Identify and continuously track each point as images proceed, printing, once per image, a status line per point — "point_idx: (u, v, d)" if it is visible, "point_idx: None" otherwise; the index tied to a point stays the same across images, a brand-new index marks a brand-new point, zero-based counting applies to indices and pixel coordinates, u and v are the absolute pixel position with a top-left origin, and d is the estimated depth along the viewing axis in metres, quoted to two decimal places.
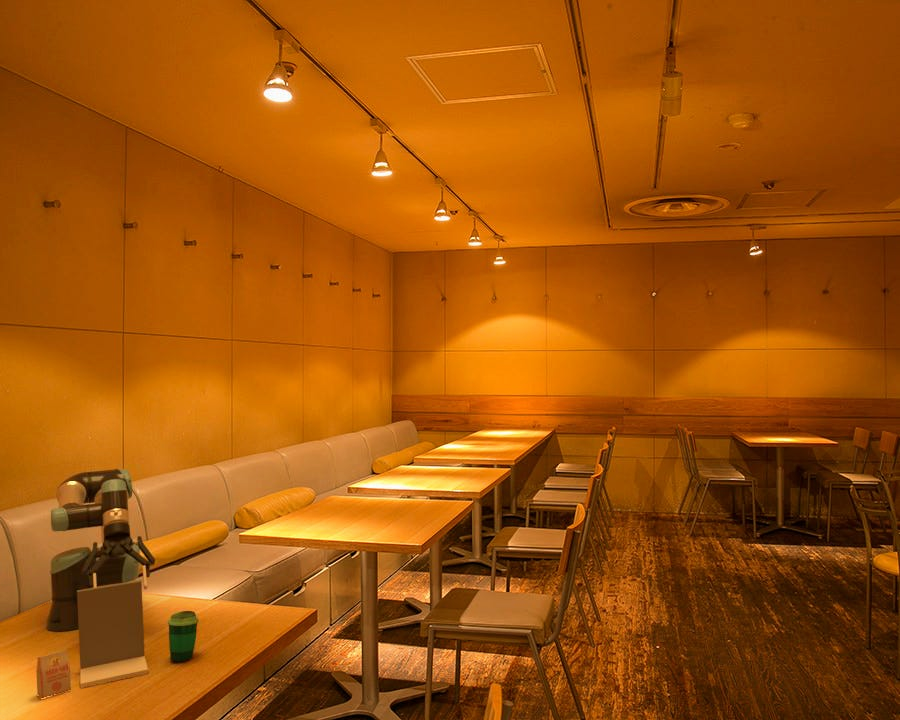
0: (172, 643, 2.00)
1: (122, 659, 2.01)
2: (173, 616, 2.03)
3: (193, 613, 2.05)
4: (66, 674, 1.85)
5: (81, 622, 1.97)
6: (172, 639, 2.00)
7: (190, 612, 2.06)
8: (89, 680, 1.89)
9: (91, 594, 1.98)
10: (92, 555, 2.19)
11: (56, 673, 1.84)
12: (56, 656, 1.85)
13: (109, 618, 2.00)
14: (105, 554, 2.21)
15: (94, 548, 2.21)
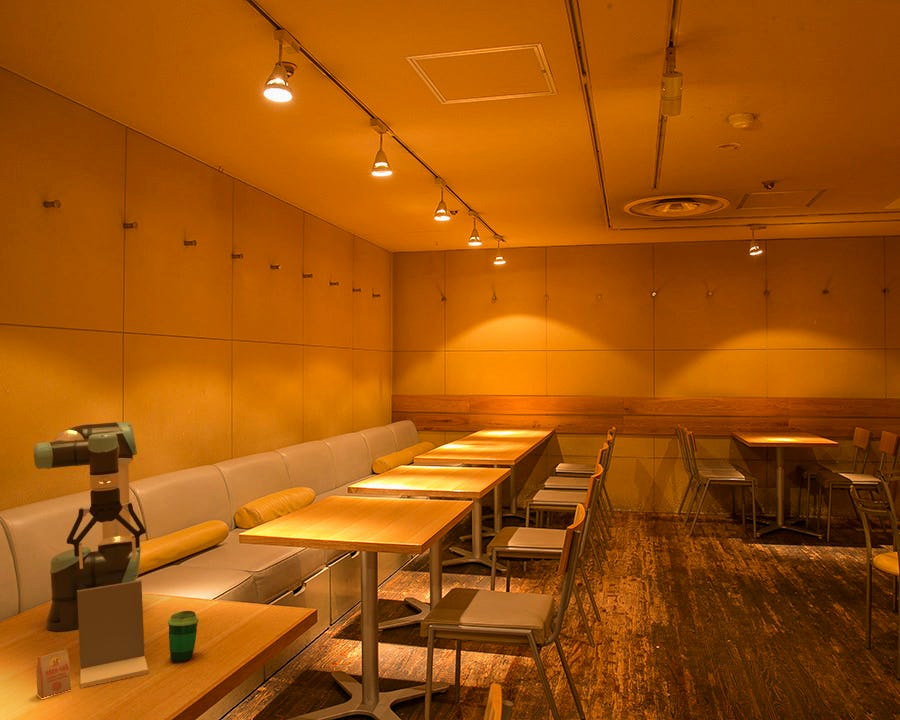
0: (172, 643, 2.00)
1: (122, 659, 2.01)
2: (173, 616, 2.03)
3: (193, 613, 2.05)
4: (66, 674, 1.85)
5: (81, 622, 1.97)
6: (172, 639, 2.00)
7: (190, 612, 2.06)
8: (89, 680, 1.89)
9: (91, 594, 1.98)
10: (78, 524, 2.01)
11: (56, 673, 1.84)
12: (56, 656, 1.85)
13: (109, 618, 2.00)
14: (92, 524, 2.03)
15: (80, 516, 2.02)
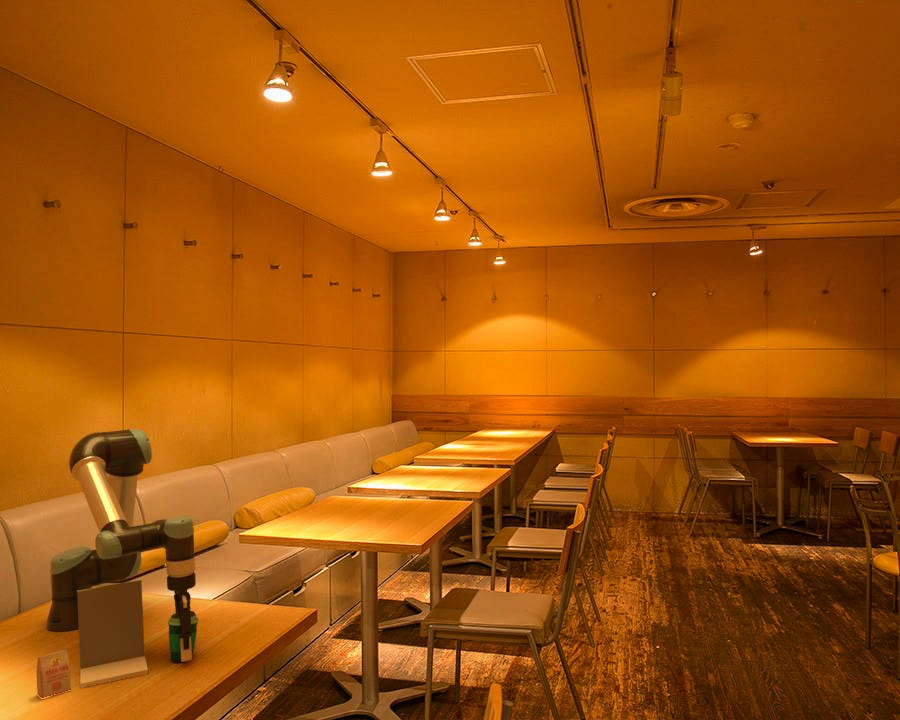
0: (172, 642, 2.00)
1: (122, 659, 2.01)
2: (173, 616, 2.03)
3: (193, 613, 2.05)
4: (66, 674, 1.85)
5: (81, 622, 1.97)
6: (172, 639, 2.00)
7: (190, 612, 2.06)
8: (89, 680, 1.89)
9: (91, 594, 1.98)
10: None
11: (56, 673, 1.84)
12: (56, 656, 1.85)
13: (109, 618, 2.00)
14: None
15: None
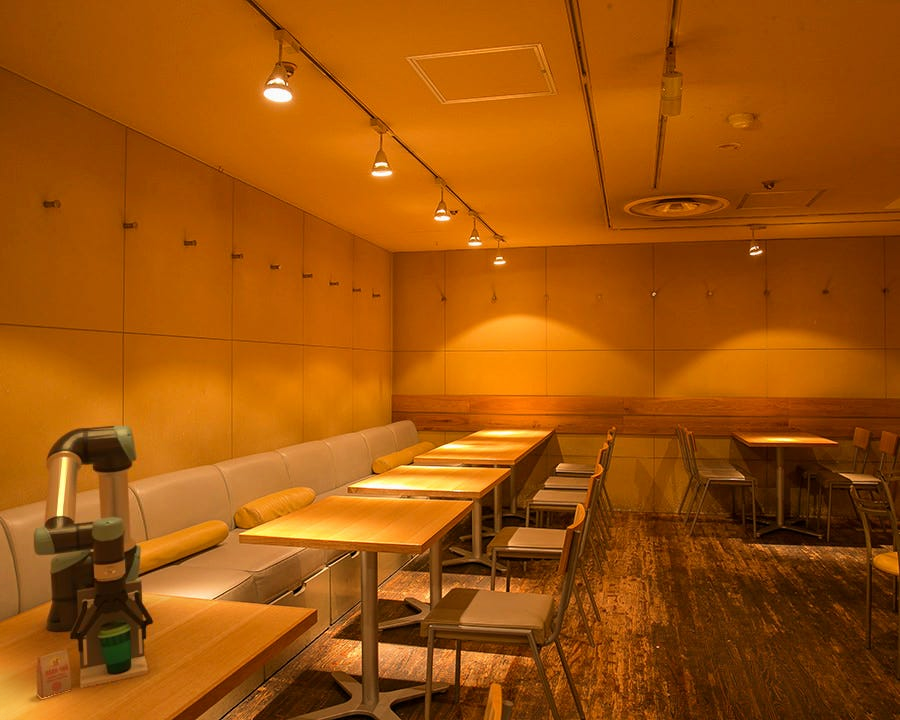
0: (126, 650, 1.93)
1: None
2: (115, 627, 1.93)
3: (115, 621, 1.97)
4: (66, 674, 1.85)
5: None
6: (125, 647, 1.93)
7: (110, 623, 1.96)
8: (89, 680, 1.89)
9: (91, 594, 1.98)
10: (82, 617, 1.90)
11: (56, 673, 1.84)
12: (56, 656, 1.85)
13: (109, 618, 2.00)
14: (97, 616, 1.91)
15: (84, 609, 1.90)
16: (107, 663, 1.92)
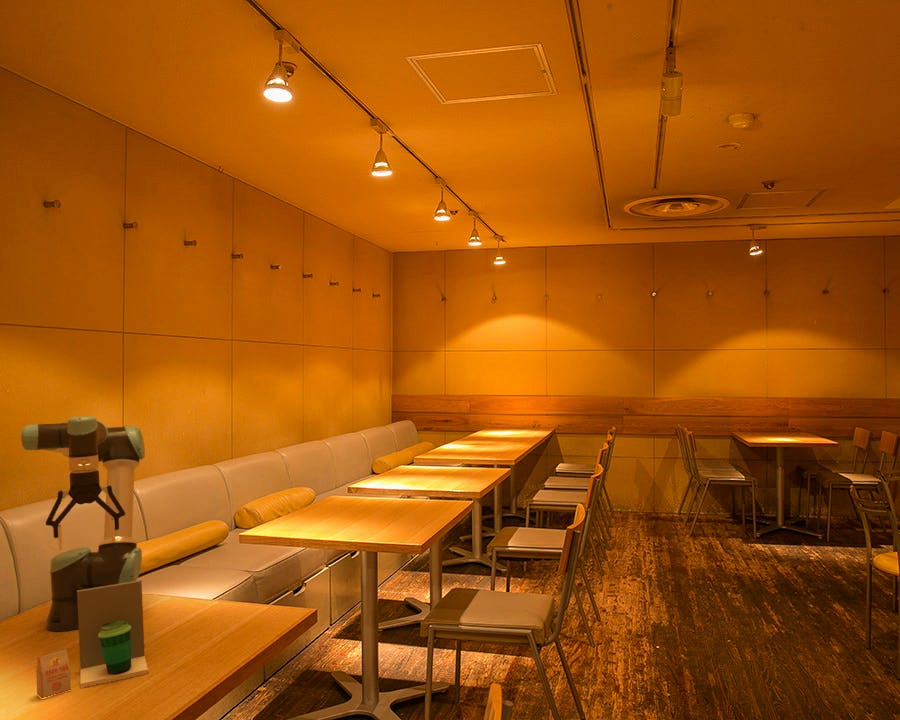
0: (126, 650, 1.93)
1: None
2: (115, 627, 1.93)
3: (116, 621, 1.97)
4: (66, 674, 1.85)
5: (81, 622, 1.97)
6: (125, 647, 1.93)
7: (110, 623, 1.96)
8: (89, 680, 1.89)
9: (91, 594, 1.98)
10: (57, 506, 2.04)
11: (56, 673, 1.84)
12: (56, 656, 1.85)
13: (109, 618, 2.00)
14: (71, 506, 2.05)
15: (59, 498, 2.04)
16: (107, 663, 1.92)
